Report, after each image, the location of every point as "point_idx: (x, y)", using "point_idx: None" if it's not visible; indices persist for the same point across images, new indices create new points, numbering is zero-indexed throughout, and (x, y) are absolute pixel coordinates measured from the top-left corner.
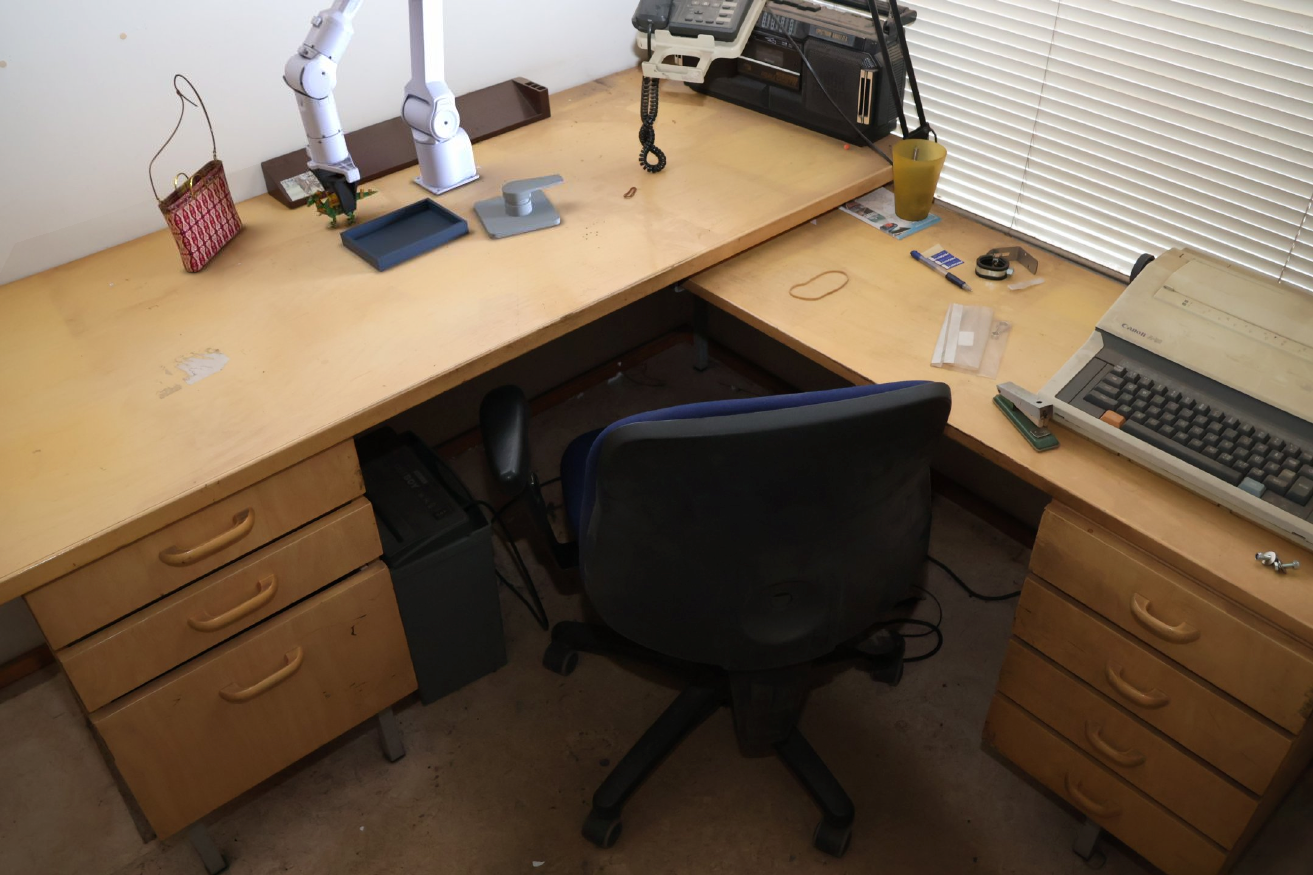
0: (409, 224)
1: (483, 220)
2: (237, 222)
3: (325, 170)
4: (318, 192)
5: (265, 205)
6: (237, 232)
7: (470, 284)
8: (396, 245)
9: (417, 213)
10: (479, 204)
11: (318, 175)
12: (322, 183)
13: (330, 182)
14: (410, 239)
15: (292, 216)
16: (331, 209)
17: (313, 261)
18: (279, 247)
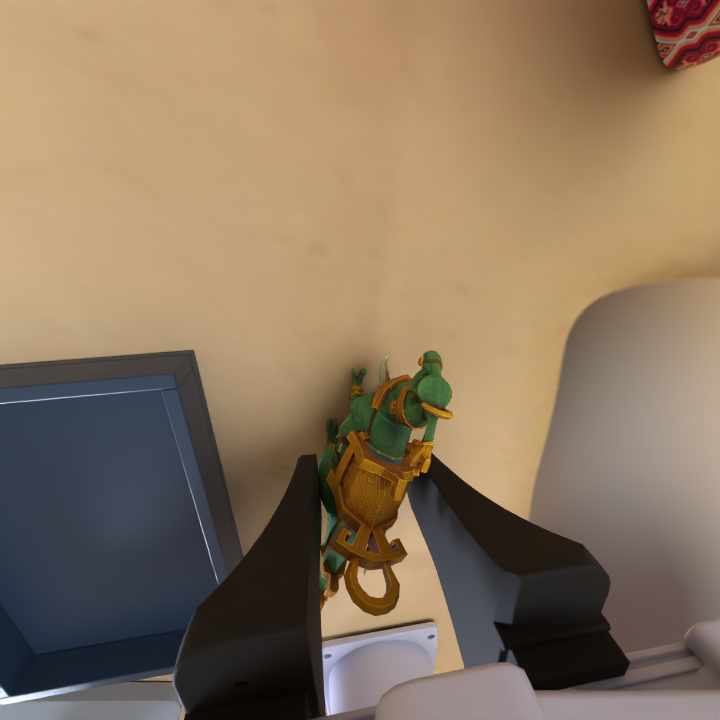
0: (178, 562)
1: (52, 703)
2: (700, 11)
3: (487, 617)
4: (414, 457)
5: (713, 250)
6: (648, 6)
7: None
8: (39, 494)
9: None
10: (161, 710)
11: (484, 561)
12: (456, 515)
13: (207, 634)
14: (62, 539)
15: (556, 294)
16: (355, 427)
17: (117, 184)
18: (365, 117)
